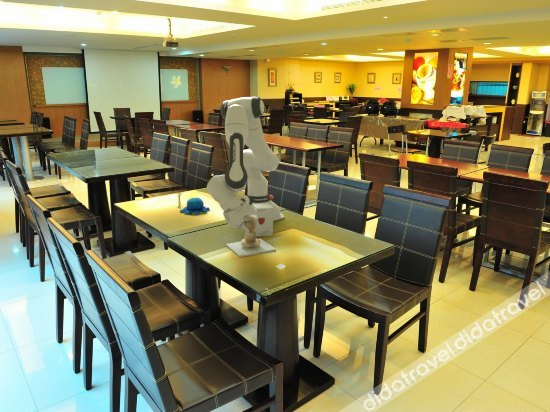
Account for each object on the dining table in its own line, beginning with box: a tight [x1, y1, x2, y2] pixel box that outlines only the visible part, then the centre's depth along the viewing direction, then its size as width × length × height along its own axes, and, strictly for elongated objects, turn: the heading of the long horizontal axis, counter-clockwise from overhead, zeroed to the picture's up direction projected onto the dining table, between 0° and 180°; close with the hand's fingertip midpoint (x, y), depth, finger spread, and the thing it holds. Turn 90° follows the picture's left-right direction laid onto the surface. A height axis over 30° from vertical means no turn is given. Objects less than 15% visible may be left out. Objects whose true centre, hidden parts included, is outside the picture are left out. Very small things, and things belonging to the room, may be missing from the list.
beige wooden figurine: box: [240, 215, 260, 247], centre depth 193 cm, size 9×9×13 cm
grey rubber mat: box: [225, 237, 277, 258], centre depth 195 cm, size 18×16×1 cm
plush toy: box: [179, 197, 211, 216], centre depth 251 cm, size 17×17×8 cm
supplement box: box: [253, 203, 274, 238], centre depth 213 cm, size 9×9×15 cm
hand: (251, 229), depth 192 cm, fingers closed on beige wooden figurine, 5 cm apart
